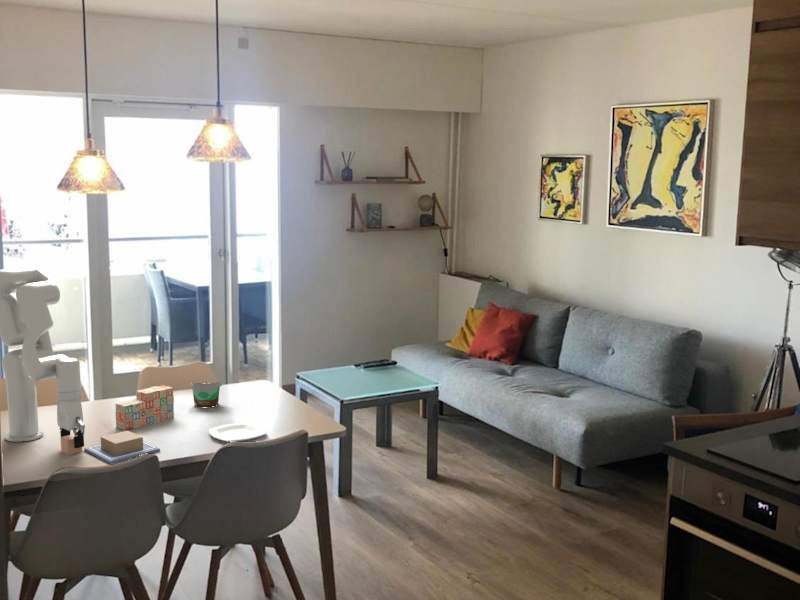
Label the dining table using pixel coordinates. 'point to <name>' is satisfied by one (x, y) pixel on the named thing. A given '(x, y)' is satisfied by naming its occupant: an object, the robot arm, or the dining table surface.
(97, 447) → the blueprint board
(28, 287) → the robot arm
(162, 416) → the stack of blocks
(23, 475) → the dining table surface
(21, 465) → the dining table surface
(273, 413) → the dining table surface
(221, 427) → the plate
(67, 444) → the terracotta cube
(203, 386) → the food container
